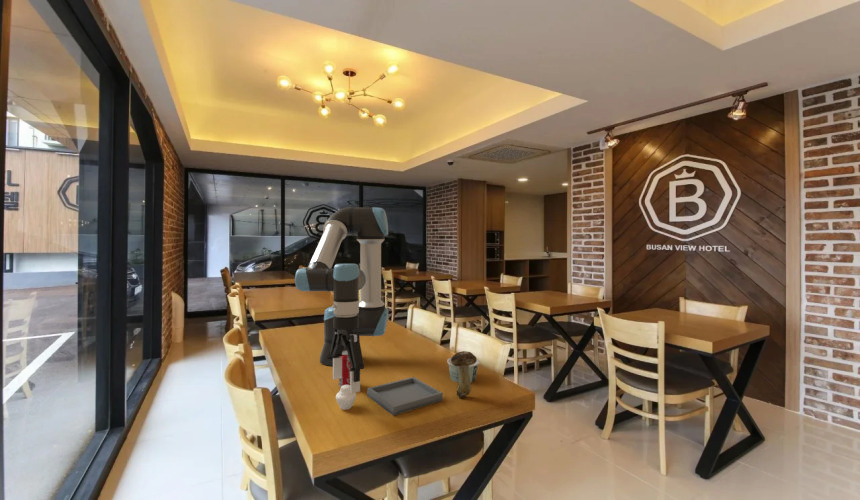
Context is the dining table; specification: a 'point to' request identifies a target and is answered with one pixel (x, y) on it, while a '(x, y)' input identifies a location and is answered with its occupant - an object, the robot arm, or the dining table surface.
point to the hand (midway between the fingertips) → (345, 385)
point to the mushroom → (463, 371)
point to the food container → (455, 371)
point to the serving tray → (404, 395)
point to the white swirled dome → (345, 397)
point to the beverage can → (345, 370)
